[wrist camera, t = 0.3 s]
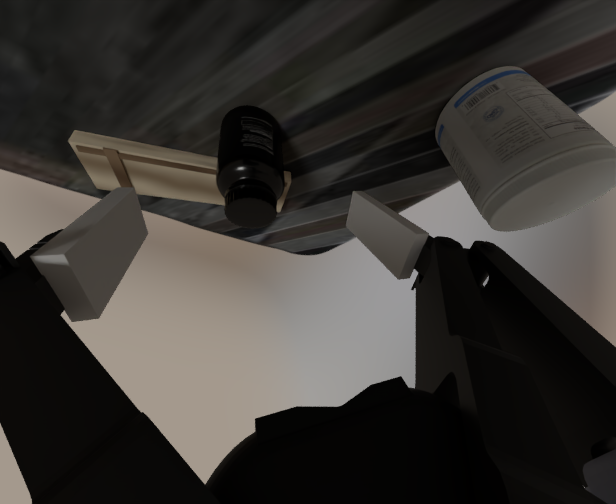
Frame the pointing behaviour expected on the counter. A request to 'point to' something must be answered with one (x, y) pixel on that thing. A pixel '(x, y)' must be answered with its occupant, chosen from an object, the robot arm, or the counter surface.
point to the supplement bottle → (250, 166)
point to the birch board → (151, 169)
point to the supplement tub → (522, 150)
